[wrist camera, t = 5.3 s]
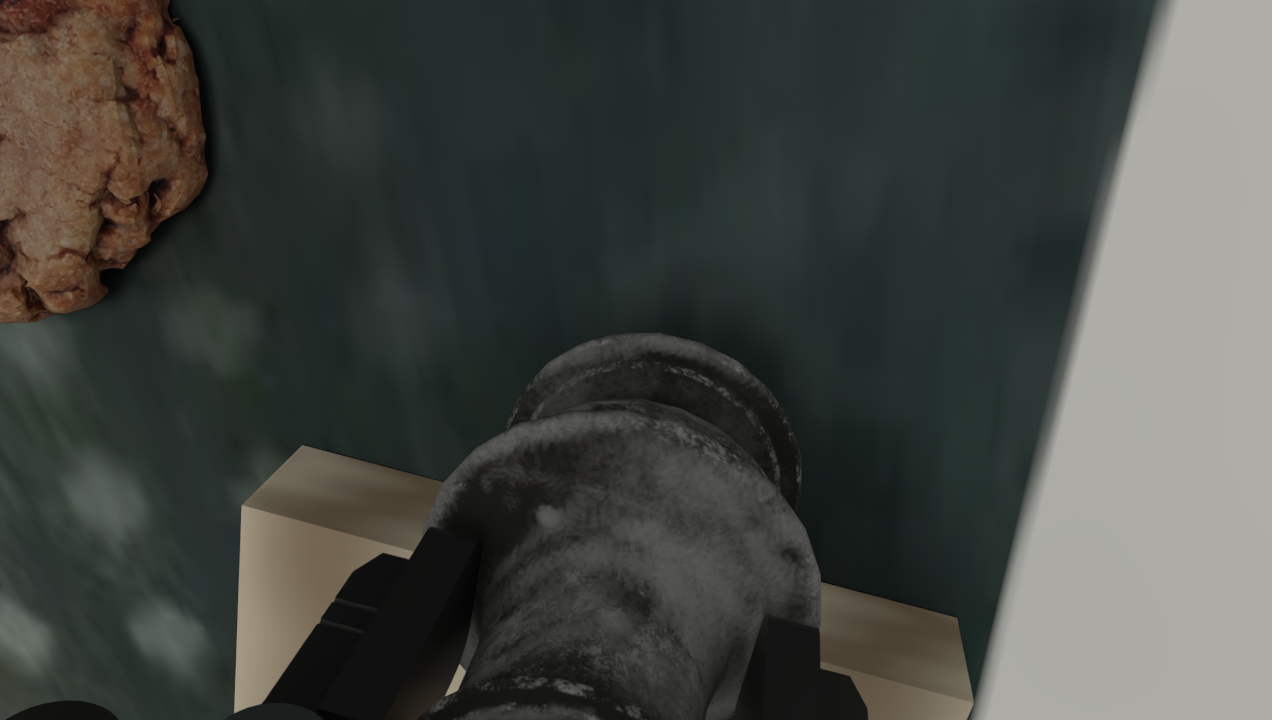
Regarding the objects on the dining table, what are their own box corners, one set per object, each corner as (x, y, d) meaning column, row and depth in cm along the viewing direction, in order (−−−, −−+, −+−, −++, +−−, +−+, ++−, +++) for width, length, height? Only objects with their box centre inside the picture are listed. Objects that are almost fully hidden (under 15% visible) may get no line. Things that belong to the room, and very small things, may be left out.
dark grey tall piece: (798, 628, 19) (782, 1630, 8) (489, 584, 19) (79, 1448, 8) (842, 336, 16) (910, 1205, 5) (487, 297, 17) (-93, 995, 6)
